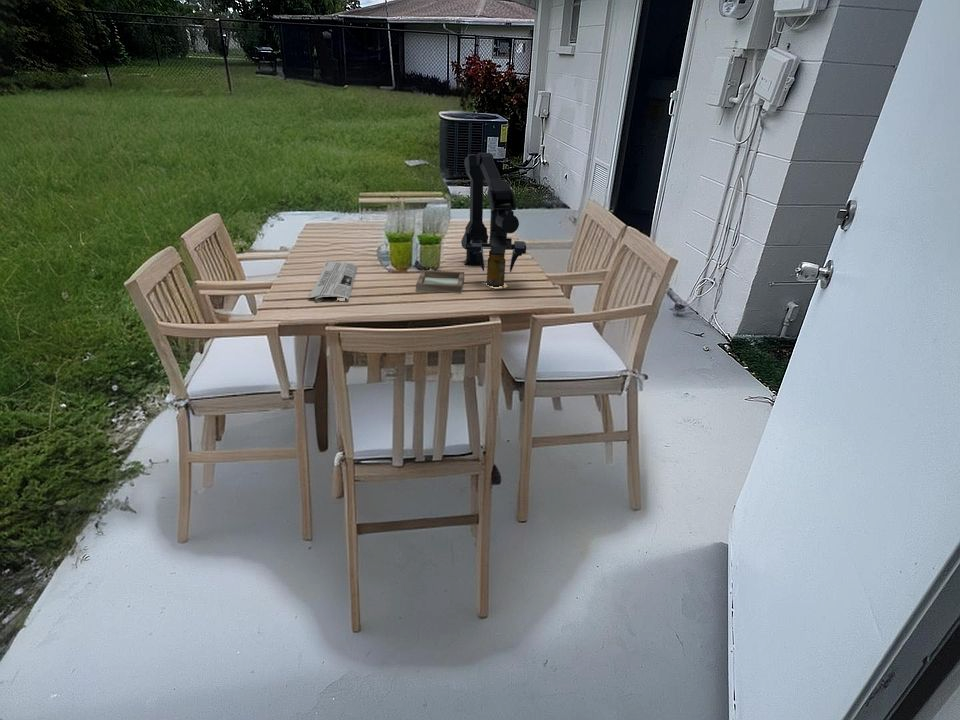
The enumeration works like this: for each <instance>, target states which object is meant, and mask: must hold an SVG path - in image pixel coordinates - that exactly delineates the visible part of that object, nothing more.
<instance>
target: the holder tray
mask: <svg viewBox="0 0 960 720" xmlns="http://www.w3.org/2000/svg"><path fill="white" fill-rule="evenodd" d="M417 279H418V280H417V282H416V284H415V291H416V293H435V292H450V293H449V294H460V293H461V292H463V288H462V287H463V286H464V281H465V271H454V270H453V271H449V270H448V271H445V270H427V269H426V270H425V269H423V270H421V271H420V274H419V276H418V278H417ZM461 294H462V293H461Z"/></svg>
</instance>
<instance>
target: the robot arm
mask: <svg viewBox="0 0 960 720" xmlns="http://www.w3.org/2000/svg"><path fill="white" fill-rule="evenodd" d="M463 164H464V168H465V172H466V173H465V174H466V175H467V177H468V178H469V183H470V184H469V185H470V186H469V221H468V223H467V225H466V226H465V229H464V234H463V235H462V238H461V240H460V242H461V247H462V248H463V249H464V250H465V254H466V255H465V260H464V261H465V262H464V265H465V266H481V270H482V271H483V272H484V271H485V259H484V250H489V251H490V250H491V251H490V252H491V253H492V254H495V253H500V254H504V253H505V254H506V251H508V250H509V251H512V252H511V258H510V264H509V272H510V273H511V272H512V271H513V268H514V265H515V262H516V261H517V259H518V258H519V257H521V256H522V255H524V254H525V255H526V254H527V244H526V242H525V241H524V240H522V241H518V240H514V242H513V240H512V238H509V237H508V234H512V233H515V232H516V231H518V228H519V226H520V222H519V218H518V217H517V216H516V215H515V214H514V213H515V212H514V211H516V210H517V208H516V206H517V202H516V197H515V195H514V192H513V190H512V188H511V186H510V185H509V183H508V182H506V181H505V180H503V179H502V178H501V175H500V173H499V170H498V168H497V166H496V163H495V162H494V155H493V153H490V152H479V153H472V154H470V153H468V155H467V156H466V157H465V158H464V163H463ZM484 180H485V182H486V185H487V186H488V187H487V188H488V191H487V193H486V195H487V196H486V197H487V202H488V204H489V210H490V221H489V222H490V224H489V226H490V227H489V235H488V227H487V226H485V223H484V221H483V213H484V204H483V203H484ZM488 240H489V242H488ZM512 242H513V243H512ZM505 254H504V255H505Z"/></svg>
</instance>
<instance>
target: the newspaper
mask: <svg viewBox="0 0 960 720" xmlns="http://www.w3.org/2000/svg"><path fill="white" fill-rule="evenodd" d="M357 270H358V266H357V265H356V264H355V263H354V262H346V261H338V262H337V261H330V260H328V259H326V261H325V263H324V266H323V268H322V269H321V272H320V274H319V277H318V279H317V281H316V282H315V284H314V286H313V287H312V289H311V291H310V294H309V295H308V298H309V299H311V298H314V302H315V303H317V302H318V303H322V302H323V301H324V299H323V297H324V298H326V297H327V298H328V297H330V298H331V297H333V298H335V297H336V298H337V297H341V298H345V301H347V302H349V301H350V298H351V294H350V293H352V290H353V285H354V281H355V278H356V273H357ZM322 300H323V301H322ZM321 301H322V302H321ZM345 301H344V302H345Z"/></svg>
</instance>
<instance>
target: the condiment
mask: <svg viewBox="0 0 960 720" xmlns="http://www.w3.org/2000/svg"><path fill="white" fill-rule="evenodd" d="M490 251H491V249H489V252H488V253H489V254H488V258H487V269H486V270H487V271H486V272H487V273H486V282H487V285H489V286H493V287H499V286H503V285H504V283H505V278H506V276H505V274H506V258H505V257H506V255H505V254H506V252H505V253H504V254H500V253H495V254H492V253H491V252H490ZM483 282H484V281H482V282H480V283H481V284H483ZM490 289H492V290H493V291H496V290H495V289H494V288H490Z"/></svg>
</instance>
